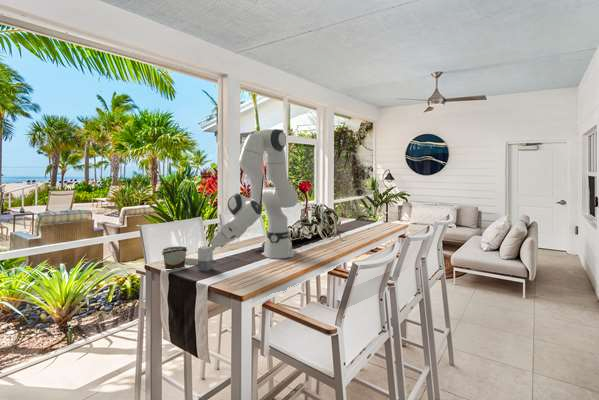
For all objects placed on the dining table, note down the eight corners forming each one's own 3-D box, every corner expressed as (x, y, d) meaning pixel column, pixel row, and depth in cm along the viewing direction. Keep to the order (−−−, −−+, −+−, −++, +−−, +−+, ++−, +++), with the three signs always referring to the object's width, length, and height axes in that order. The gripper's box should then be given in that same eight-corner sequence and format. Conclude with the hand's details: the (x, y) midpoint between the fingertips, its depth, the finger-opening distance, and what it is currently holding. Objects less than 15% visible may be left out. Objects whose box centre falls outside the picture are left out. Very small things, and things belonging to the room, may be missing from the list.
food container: (181, 264, 179) (181, 245, 178) (187, 266, 174) (187, 247, 174) (157, 268, 170) (157, 248, 169) (163, 271, 166) (162, 250, 165)
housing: (203, 267, 173) (203, 246, 172) (212, 268, 171) (212, 246, 170) (198, 270, 168) (197, 248, 167) (207, 271, 167) (207, 249, 166)
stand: (194, 258, 191) (194, 252, 191) (212, 259, 188) (212, 254, 188) (182, 263, 181) (182, 257, 180) (201, 265, 178) (201, 259, 177)
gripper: (239, 221, 174) (222, 239, 177) (219, 227, 154) (200, 247, 158) (248, 230, 173) (230, 248, 176) (228, 237, 153) (209, 257, 157)
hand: (215, 248), depth 167 cm, fingers open, 8 cm apart
